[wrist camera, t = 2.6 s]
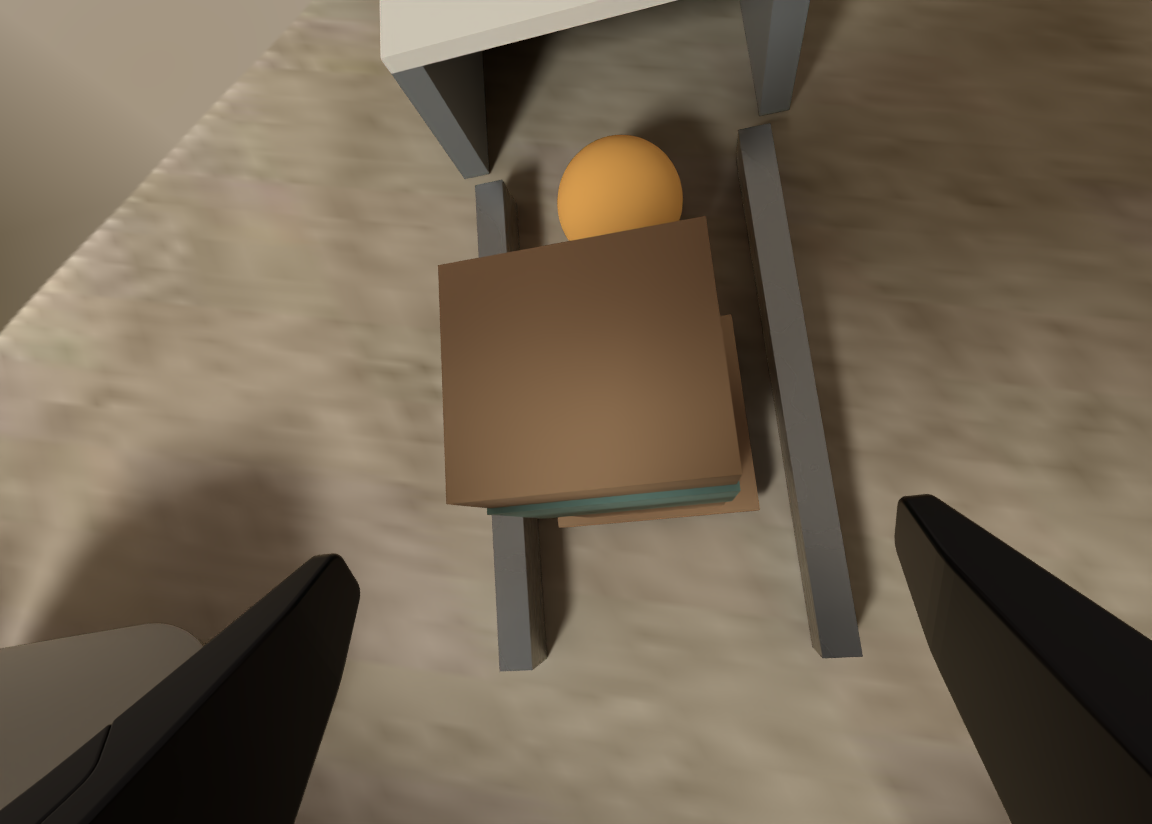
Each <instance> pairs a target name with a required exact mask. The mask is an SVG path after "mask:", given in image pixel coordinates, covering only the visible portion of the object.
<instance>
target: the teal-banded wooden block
mask: <svg viewBox="0 0 1152 824" xmlns="http://www.w3.org/2000/svg"><path fill="white" fill-rule="evenodd" d="M438 275H439V304H440V333H441V361H442V390H443V419H444V448H445V476H446V504H451V505H461V506H471V507H482V508H487V515H500V516H515V517H530V518H556V517H558V525H559V527H575V526H587V525H598V524H609V523H621V522H632V521H643V520H654V519H666V518H677V517H688V516H700V515H711V514H722V513H734V512H745V511H756V510H760V507H759V500H758V493H757V486H756V480H755V473H754V466H753V459H752V452H751V445H750V438H749V432H748V425H747V418H746V411H745V404H744V397H743V390H742V384H741V377H740V370H739V363H738V356H737V349H736V342H735V336H734V329H733V322H732V315H731V314H730V315H723V316H720V313H719V306H718V299H717V292H716V284H715V277H714V270H713V263H712V256H711V249H710V242H709V235H708V228H707V221H706V216H702V217H696V218H691V219H686V220H680V221H675V222H669V223H664V224H659V225H653V226H648V227H642V228H637V229H632V230H626V231H621V232H615V233H610V234H605V235H599V236H594V237H588V238H583V239H578V240H572V241H567V242H561V243H556V244H551V245H545V246H540V247H534V248H529V249H524V250H518V251H513V252H507V253H502V254H497V255H491V256H486V257H480V258H475V259H470V260H464V261H459V262H454V263H448V264H443V265H438Z"/></svg>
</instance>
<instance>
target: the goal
mask: <svg viewBox="0 0 1152 824" xmlns="http://www.w3.org/2000/svg"><path fill="white" fill-rule="evenodd" d="M672 1H676V0H380V49H381V60H382V61H383V62H384V64H385V65H386V67H387V68H388V70H389V71H390V73H391V74H392V75H393V77H394V78H395V80H396V81H397V83H398V84H399V85H400V87H401V88H402V90H403V91H404V93H405V94H406V95H407V97H408V98H409V100H410V101H411V103H412V104H413V105H414V107H415V108H416V110H417V111H418V113H419V114H420V116H421V117H422V118H423V120H424V121H425V123H426V124H427V126H428V127H429V128H430V130H431V131H432V133H433V134H434V136H435V137H436V138H437V140H438V141H439V143H440V144H441V146H442V147H443V148H444V150H445V151H446V153H447V154H448V156H449V157H450V159H451V160H452V161H453V163H454V164H455V166H456V167H457V169H458V170H459V171H460V173H461V174H462V176H463V177H464V179H467V178H471V177H476V176H481V175H485V174H489V161H488V143H487V126H486V108H485V90H484V73H483V55H482V50H486V49H490V48H493V47H497V46H501V45H505V44H509V43H513V42H517V41H521V40H525V39H528V38H532V37H536V36H540V35H544V34H548V33H552V32H556V31H559V30H563V29H567V28H571V27H575V26H579V25H583V24H587V23H591V22H594V21H598V20H602V19H606V18H610V17H614V16H618V15H622V14H625V13H629V12H633V11H637V10H641V9H645V8H649V7H653V6H657V5H660V4H664V3H668V2H672ZM809 3H810V0H740V4H741V10H742V16H743V22H744V28H745V34H746V40H747V46H748V52H749V58H750V63H751V69H752V75H753V81H754V87H755V93H756V99H757V105H758V111H759V116H761V115H766V114H771V113H775V112H780V111H785V110H789V108H790V103H791V98H792V92H793V87H794V82H795V76H796V71H797V66H798V61H799V55H800V50H801V45H802V40H803V34H804V29H805V24H806V19H807V13H808V8H809Z"/></svg>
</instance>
